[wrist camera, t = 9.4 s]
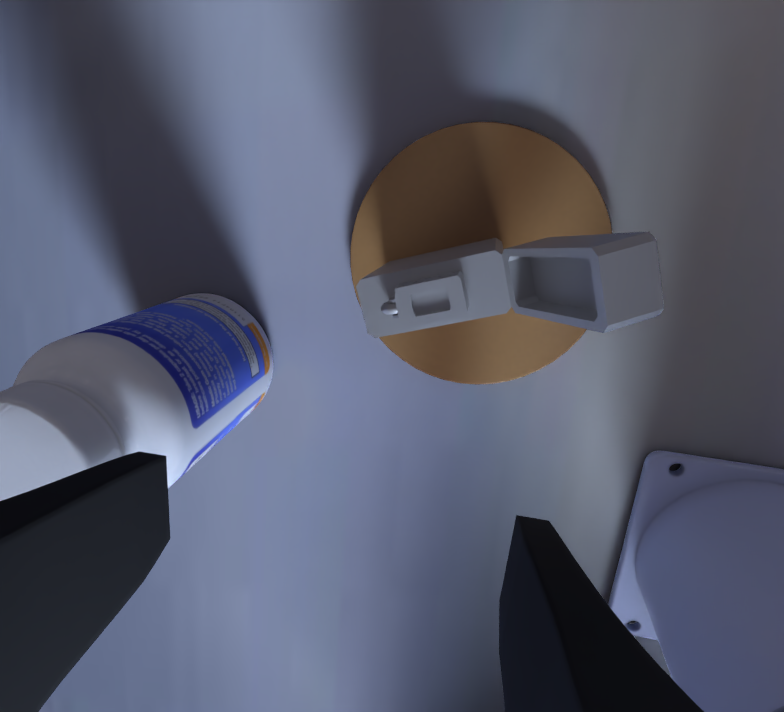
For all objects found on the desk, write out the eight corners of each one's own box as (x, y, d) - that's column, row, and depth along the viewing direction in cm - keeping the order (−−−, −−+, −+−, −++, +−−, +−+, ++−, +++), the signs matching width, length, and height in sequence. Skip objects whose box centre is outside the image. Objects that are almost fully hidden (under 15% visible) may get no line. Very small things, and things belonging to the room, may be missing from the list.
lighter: (395, 309, 20) (331, 381, 12) (385, 262, 19) (311, 307, 12) (599, 268, 18) (673, 322, 10) (592, 216, 17) (664, 233, 10)
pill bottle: (160, 276, 21) (-91, 338, 12) (287, 310, 21) (122, 403, 12) (151, 398, 23) (-76, 532, 14) (267, 433, 23) (110, 596, 13)
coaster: (638, 133, 17) (641, 131, 16) (583, 397, 20) (585, 401, 19) (360, 114, 18) (358, 112, 18) (346, 363, 21) (343, 366, 21)
